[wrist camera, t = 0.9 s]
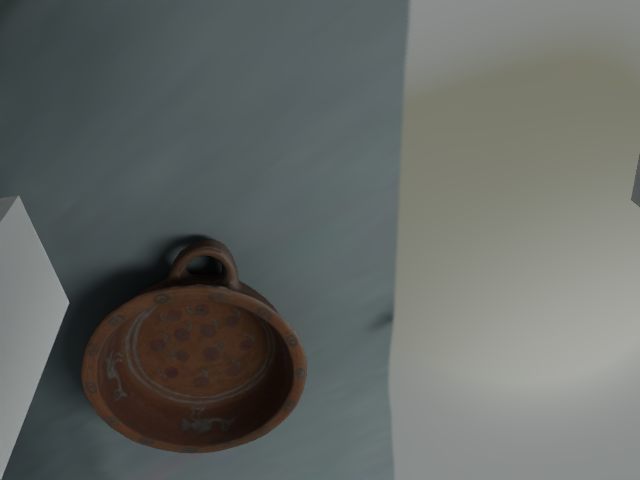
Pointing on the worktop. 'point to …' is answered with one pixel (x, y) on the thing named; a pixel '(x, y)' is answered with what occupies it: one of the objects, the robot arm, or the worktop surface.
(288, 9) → the worktop surface
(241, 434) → the dish
